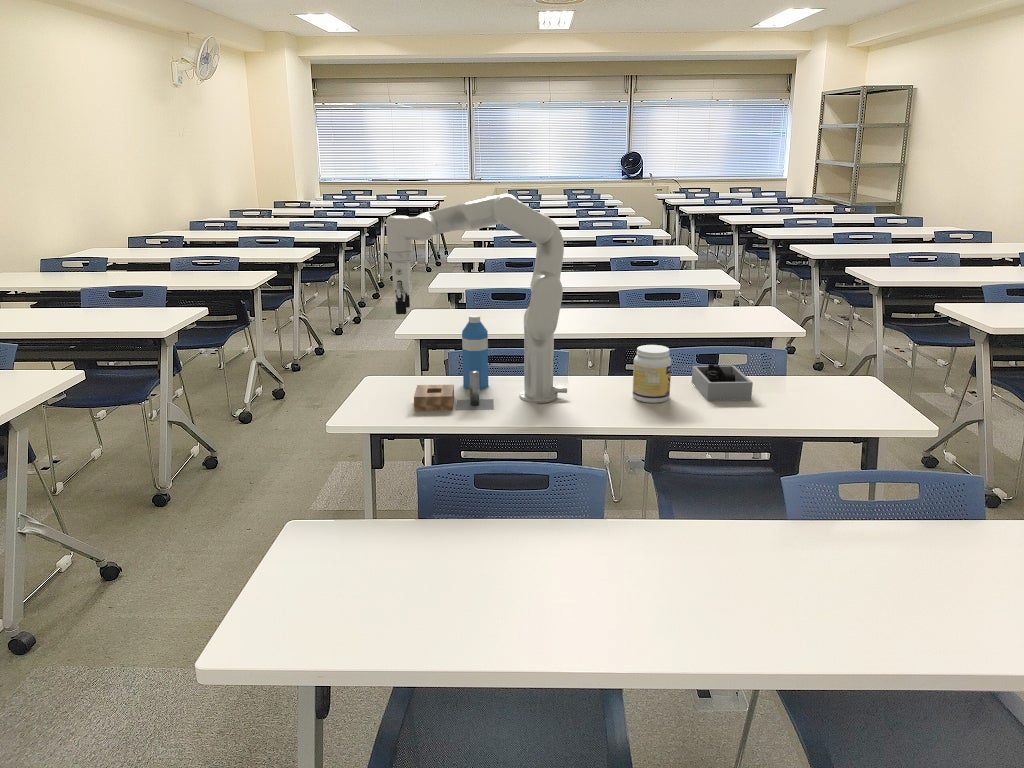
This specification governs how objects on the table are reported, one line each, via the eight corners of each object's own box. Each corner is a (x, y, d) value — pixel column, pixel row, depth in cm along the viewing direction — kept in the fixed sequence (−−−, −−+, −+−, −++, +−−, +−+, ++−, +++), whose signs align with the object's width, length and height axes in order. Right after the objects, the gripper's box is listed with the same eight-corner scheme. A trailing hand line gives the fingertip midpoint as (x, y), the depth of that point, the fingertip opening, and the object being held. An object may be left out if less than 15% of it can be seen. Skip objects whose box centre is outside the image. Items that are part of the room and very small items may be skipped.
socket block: (454, 398, 245) (453, 384, 244) (452, 411, 234) (452, 396, 232) (417, 399, 245) (417, 385, 243) (414, 411, 233) (413, 396, 232)
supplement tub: (672, 404, 239) (675, 353, 234) (634, 404, 239) (637, 353, 234) (665, 392, 251) (668, 343, 245) (629, 391, 251) (631, 343, 246)
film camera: (735, 399, 243) (738, 373, 241) (705, 397, 245) (707, 371, 242) (732, 385, 257) (734, 360, 255) (703, 383, 259) (705, 359, 257)
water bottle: (458, 384, 260) (456, 314, 252) (483, 380, 264) (481, 312, 256) (468, 392, 252) (466, 320, 244) (493, 388, 255) (492, 317, 248)
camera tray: (732, 381, 261) (733, 365, 259) (751, 399, 242) (752, 382, 240) (691, 382, 260) (692, 366, 258) (707, 400, 242) (708, 383, 240)
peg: (479, 402, 240) (479, 370, 237) (479, 405, 237) (478, 373, 234) (470, 403, 240) (469, 370, 236) (470, 406, 237) (469, 373, 234)
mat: (493, 400, 243) (493, 399, 243) (493, 410, 234) (493, 409, 234) (457, 400, 243) (457, 399, 243) (455, 411, 234) (455, 410, 234)
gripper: (409, 260, 221) (412, 316, 227) (415, 252, 238) (417, 304, 243) (384, 260, 221) (387, 316, 227) (391, 252, 238) (394, 305, 243)
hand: (403, 310), depth 235 cm, fingers open, 9 cm apart
